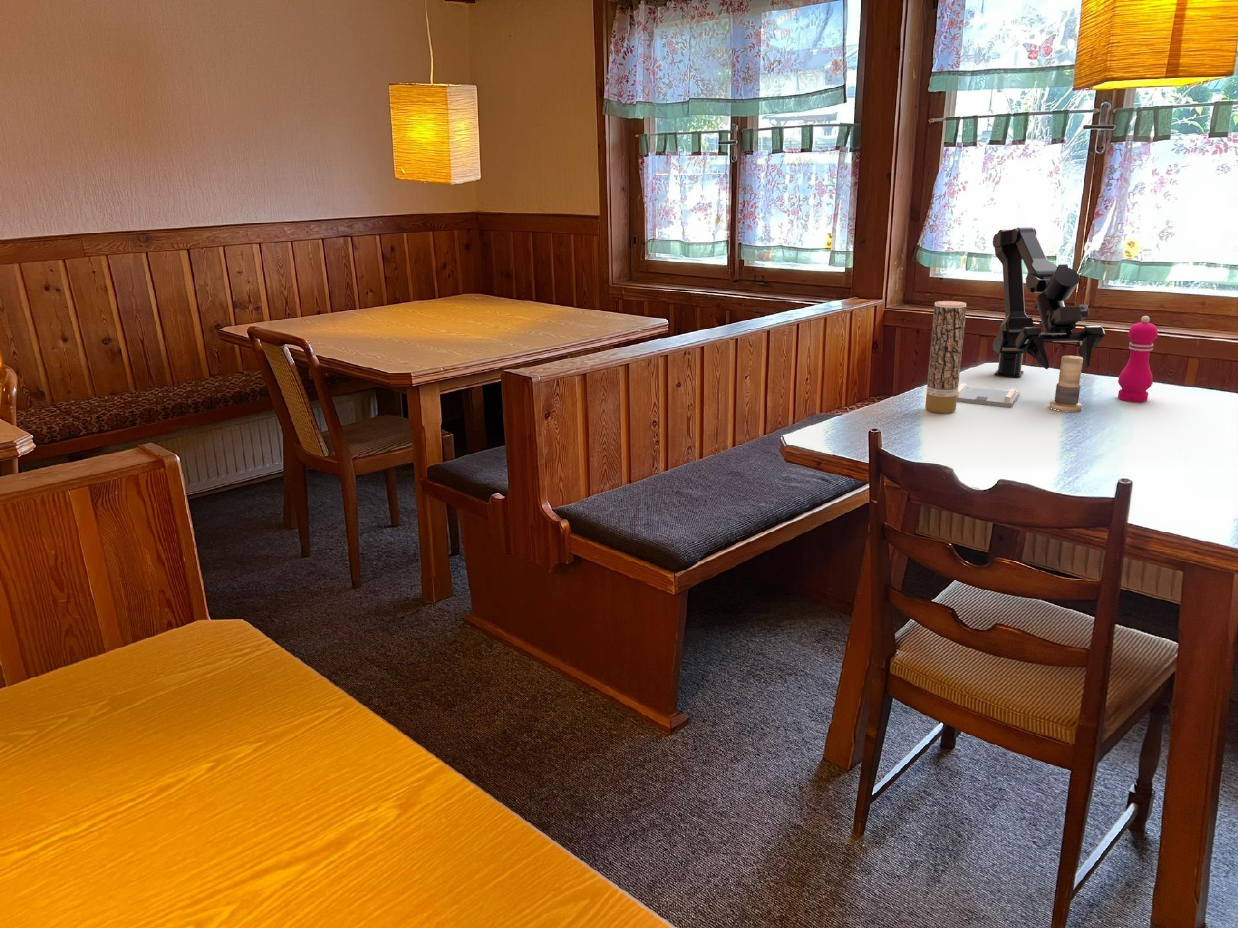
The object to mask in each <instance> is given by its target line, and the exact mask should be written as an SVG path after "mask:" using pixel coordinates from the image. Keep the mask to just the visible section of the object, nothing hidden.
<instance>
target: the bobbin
mask: <svg viewBox="0 0 1238 928" xmlns="http://www.w3.org/2000/svg"><path fill="white" fill-rule="evenodd" d="M1082 369H1083V358H1082V357H1080V355H1079V356H1077V355H1062V356H1061V360H1060V368H1059V375H1058V383H1056V386H1055V393H1054V394H1055V395H1054V400H1052V401H1050V402H1049V409H1051V408H1052V409H1051V410H1053V409H1056V410H1055V411H1057V410H1059V411H1058V412H1062V411H1068V412H1067V413H1077V412H1076V411H1078V412H1081V411H1082V408H1083V404H1081V403H1080V402H1079V401H1080V400H1079V399H1080V391H1081V385H1080V383H1081V381H1080V380H1081V374H1082Z"/></svg>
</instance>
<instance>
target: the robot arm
mask: <svg viewBox="0 0 1238 928" xmlns="http://www.w3.org/2000/svg"><path fill="white" fill-rule="evenodd" d="M992 246H993V248H994V254H995V257H996V258H997V259H998V261H999V262H1000V264H1002V277H1003V278H1002V279H1003V281H1002V282H1003V297H1004V298H1003V299H1004V311H1005V313H1004V314H1005V317H1004V319H1002V322H1001V324H1000V326H999V331H998V334H996V336H995V338H994V340H993V342H992V351H994V352H996V353H997V354H999V360H998V364H997V365H998V366H997V368H998V369H997V370H996V371H995V372H994V376H999V377H1000V376H1001V377H1009V378H1010V377H1012V378H1022V376H1023V375H1024V370H1022V367H1023V366H1022V363H1023V356H1024V354H1029V356H1030V357H1032V358H1033V359H1034V360H1036V361H1037V362H1038V363H1039V364H1040V366H1041V367H1043V368H1044V369H1045V370H1048V369H1049V368H1050V364H1049V359H1048V355H1047V352H1046V349H1045V345H1044V343H1045V342H1052V343H1063V342H1064V343H1066V342H1068V343H1069V342H1076V344H1077V347H1078V348H1077V352H1078V354H1079V357H1082V358H1083V362H1082V366H1084V368H1085V369H1086V370H1087V369H1089V367H1090V363H1091V356H1092V351H1093V349H1094V348H1096V347H1097V346H1098V345H1099V344H1100V343H1101V341H1102V340H1103V339H1104V337H1105V335H1106V332H1105V330H1104V328H1103V327H1102V326H1101V325H1100V326H1099V325H1086V326H1085V325H1084V327H1083V329H1081V331H1080V332H1073V331H1072V330H1075V328H1076V327H1077V323H1079V322H1081V321H1082V320H1085V319H1088V318H1089V316H1090V310H1089V307H1088V304H1083V303H1082V304H1078V305H1076V306H1075V305H1074V306H1065V302H1064V301H1066V300H1068V299H1069V298H1070V296H1071V295H1072V293H1073V292H1074V290H1075V289H1076V288H1077V286H1078V284H1079V283H1080V280H1081V277H1080V274H1079V273H1078V272H1077V271H1075V269H1073V268H1071V267H1069V265H1068V264H1067V263H1066V264H1065V263H1064V264H1063V263H1061V264H1058V265H1057V264H1055V263H1053V262H1051V261H1050V260H1048V258H1047V256H1046V254H1045V251H1044V250H1043V248H1042V246H1041V243H1040V241H1039V238H1038V237H1037V230H1036V228H1035V227H1031V226H1027V227H1025V226H1021V227H1019V226H1018V227H1016V228H1013V229H1000V230H998V231H997V233H994V235H993V239H992ZM1023 263H1024V265H1025V268H1026V270H1027V274H1026V277H1025V287H1026V288H1027V289H1028V292H1030V294H1033V293H1035V294H1036V293H1037V294H1038V295H1037V297H1036V298H1035V303H1034V305H1033V308H1034V309H1035V310H1036V309H1037V310H1038V314H1039V318H1040V322H1039V323H1038V325H1039V326H1034V319H1033V317H1031V316H1030V317H1028V315H1027V313H1026V310H1025V309H1026V308H1025V293H1024V292H1025V291H1024V289H1025V288H1024V274H1023V272H1024V271H1023ZM1042 330H1043V332H1042Z"/></svg>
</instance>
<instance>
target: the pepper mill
mask: <svg viewBox="0 0 1238 928" xmlns="http://www.w3.org/2000/svg"><path fill="white" fill-rule="evenodd" d="M1150 320H1151V318H1150V317H1149V316H1148V315H1143V316H1142V317H1141V319H1140V321H1139V322H1137V323H1134V324H1133V325H1131V327H1130V328H1129V331H1128V338H1129V339H1130V342H1129V344H1128V345H1129V346H1128V349H1129V350H1130V352H1129V353H1130V354H1129V359H1128V362H1127V363H1126V364H1125V366H1124V368H1123V369H1122V370H1121V372H1120V374H1119V376H1118V381H1117V383H1118V385H1119V386H1120V388H1121V389H1119V390H1118V392H1117V393H1118V394H1117V399H1119V400H1121V401H1125V402H1134V403H1142V402H1146V400H1148V398H1149V392H1148V389H1150V388H1151V387H1152V386H1153V379H1154V378H1153V373H1152V371H1151V368H1150V362H1149V360H1150V353H1151V351H1153V350H1154V343H1153V342H1155V340H1156V339H1157V338H1158V334H1159V330H1158V328H1157V326H1156V325H1155V324H1153V323H1151V322H1150Z"/></svg>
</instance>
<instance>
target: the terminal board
mask: <svg viewBox="0 0 1238 928" xmlns="http://www.w3.org/2000/svg"><path fill="white" fill-rule="evenodd" d="M1020 395H1021V393H1020V391H1017V388H1011V387H1010V389H1009V390H1003V389H1002V390H1001V389H993V388H984V387H981V388H980V387H971V386H967V383H960V385H958V394H957V403H966V404H974V405H975V404H977V405H983V406H984V405H985V406H995V407H1003V408H1012V407H1013V406H1014V404H1015V403H1016V402H1017V400H1018V399H1019V397H1020Z"/></svg>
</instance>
